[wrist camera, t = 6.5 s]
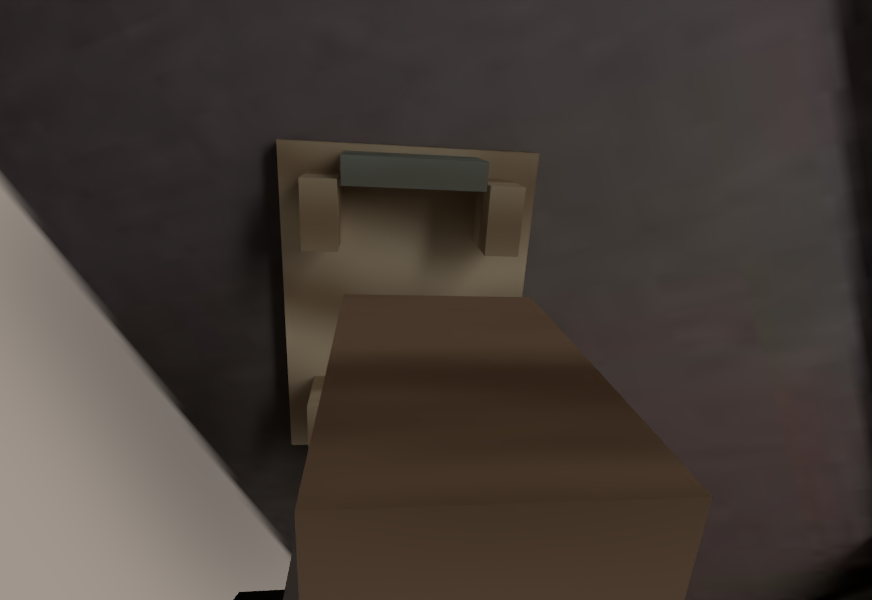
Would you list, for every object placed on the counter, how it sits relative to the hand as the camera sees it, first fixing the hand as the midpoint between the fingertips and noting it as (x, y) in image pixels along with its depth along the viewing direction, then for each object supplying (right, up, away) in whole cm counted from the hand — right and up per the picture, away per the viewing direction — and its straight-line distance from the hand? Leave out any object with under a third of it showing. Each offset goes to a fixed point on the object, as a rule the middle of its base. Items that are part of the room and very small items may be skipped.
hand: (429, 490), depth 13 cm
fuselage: (0, 0, +1) cm, 1 cm away
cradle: (-2, +5, +13) cm, 14 cm away
